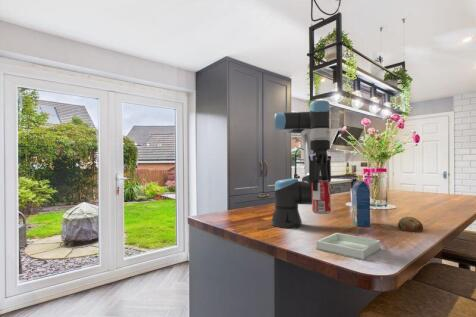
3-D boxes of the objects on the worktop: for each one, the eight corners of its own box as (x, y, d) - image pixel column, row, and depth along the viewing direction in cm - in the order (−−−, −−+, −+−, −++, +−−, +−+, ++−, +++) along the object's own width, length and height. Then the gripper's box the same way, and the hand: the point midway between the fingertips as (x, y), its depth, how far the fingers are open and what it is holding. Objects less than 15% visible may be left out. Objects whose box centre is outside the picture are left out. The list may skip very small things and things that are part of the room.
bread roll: (397, 235, 134) (390, 220, 134) (415, 225, 135) (408, 211, 135) (411, 241, 125) (403, 225, 124) (430, 230, 125) (423, 214, 125)
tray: (316, 249, 101) (316, 241, 101) (336, 240, 113) (336, 232, 113) (363, 260, 90) (363, 251, 90) (380, 248, 101) (380, 240, 102)
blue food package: (356, 226, 137) (356, 175, 137) (351, 221, 149) (351, 174, 149) (370, 227, 135) (369, 176, 136) (364, 222, 147) (364, 174, 148)
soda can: (332, 214, 106) (332, 180, 107) (313, 214, 107) (313, 180, 107) (328, 211, 113) (328, 179, 114) (310, 211, 114) (310, 179, 114)
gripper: (316, 137, 101) (317, 201, 100) (339, 141, 114) (340, 197, 113) (298, 139, 106) (299, 199, 105) (323, 142, 119) (323, 196, 118)
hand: (320, 198), depth 109 cm, fingers open, 5 cm apart
